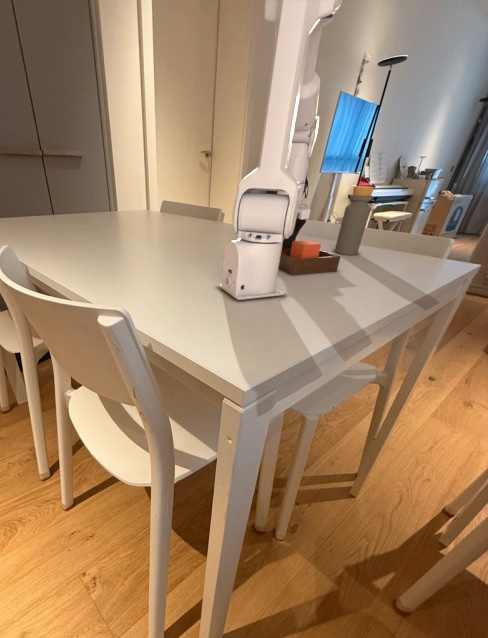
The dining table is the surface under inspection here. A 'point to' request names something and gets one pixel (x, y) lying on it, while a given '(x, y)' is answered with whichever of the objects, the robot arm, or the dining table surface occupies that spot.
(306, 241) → the terracotta block
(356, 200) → the bottle
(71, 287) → the dining table surface
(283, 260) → the tray
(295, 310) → the dining table surface
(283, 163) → the robot arm
